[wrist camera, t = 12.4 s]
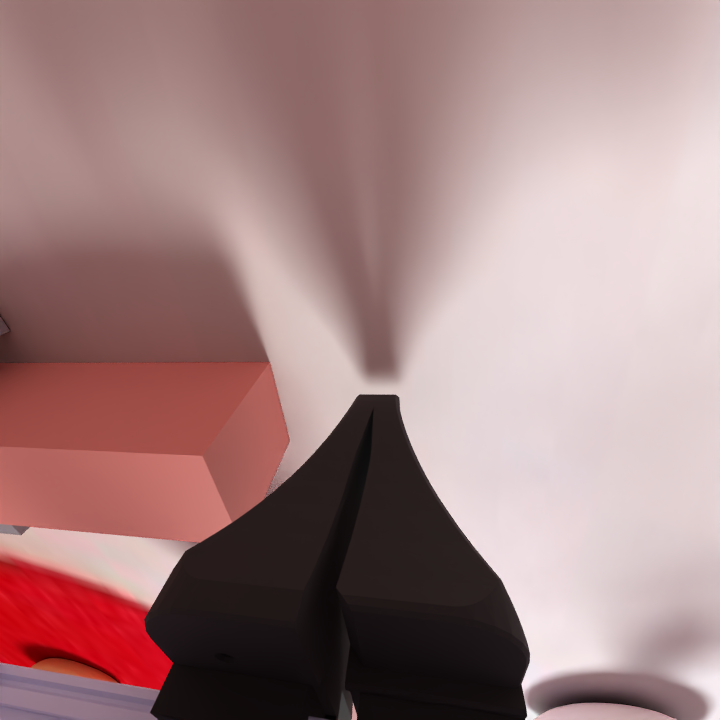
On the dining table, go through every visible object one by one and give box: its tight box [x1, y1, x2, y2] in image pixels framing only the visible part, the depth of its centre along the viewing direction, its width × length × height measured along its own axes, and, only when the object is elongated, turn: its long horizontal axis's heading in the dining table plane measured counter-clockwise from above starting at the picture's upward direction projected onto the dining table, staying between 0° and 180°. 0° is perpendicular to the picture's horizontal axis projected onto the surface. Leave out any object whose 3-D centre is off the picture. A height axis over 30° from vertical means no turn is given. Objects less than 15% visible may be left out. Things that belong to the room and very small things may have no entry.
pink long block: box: [0, 362, 290, 543], centre depth 13 cm, size 4×18×5 cm, turn 95°
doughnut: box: [31, 658, 117, 683], centre depth 38 cm, size 11×11×4 cm
